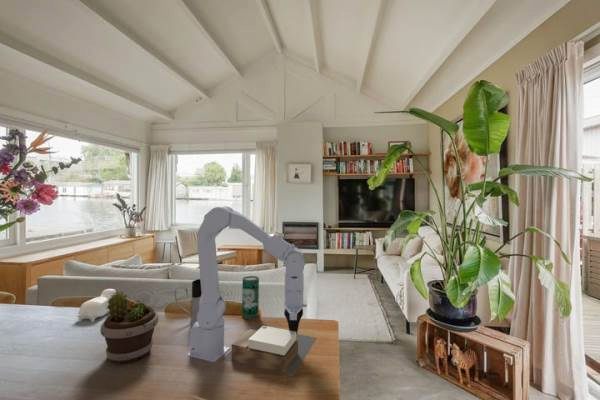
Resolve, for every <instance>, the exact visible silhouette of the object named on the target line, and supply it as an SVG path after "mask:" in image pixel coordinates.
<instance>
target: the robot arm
mask: <svg viewBox="0 0 600 400" xmlns="http://www.w3.org/2000/svg"><path fill="white" fill-rule="evenodd" d="M203 217H204V218H203V220H202V223H201V224H200V226H199V228H198V231H197V233H196V243H197V244H196V245H197V253H198V254H197V255H198V265H199V266H198V268H199V279H200V280H201V292H202V294H201V298H200V302H199V312H198V314H197V322H196V323H195V324H194V325H192V327H191V329H190V333H189V352H188V353H187V356H189V357H192V358H196V359H200V360H203V361H207V362H212V363H215V362H216V361H218V360H219V359H220V358H221V357H222V356H223V355H225V354H227V352H229V350H230V349H231V347H229V346H225V319H224V316H223V314H224V313H225V312H226V309H227V303H226V301H225V299H224V297H223V292H222V290H221V289H220V282H219V279H220V278H219V272H218V271H219V268H218V257H217V245H216V238H217V237H218V235H220V234H221V232H223V230H224V229H226V228H228V229H232V230H233V229H235V230H237V229H239V230H241V231H243V232H244V233H246V234H248V235H250V236H251V237H253V238H254V239H255V240H257V241H258V242H260V243H262V248H263V250H264V251H266V252H267V253H269V254H270V255H271V256H273V257H275V258H276V259H277V260H279V261H280V262H284V266H285V273H284V299H283V301H284V302H283V307H284V310H283V311H284V312H283V315H284V317H285V318H286V322H287V324H288V325H287V326H288V330H290V331H295V332H296V334H298V331H299V325H300V322H301V319H302V317H303V316H304V308H307V307H308V303H307V302H305V301H304V287H305V286H304V284H305V283H304V281H305V280H304V279H305V276H304V275H305V274H304V266H305V264H306V263H305V257H304V253H303V251H302V250H301V249H300V248H299V247H296V245H295V244H293V243H292V244H291V243H289V242H287V240H285V239H283V235H282V234H277V233H270V234H269V233H268V232H266V231H265V230H264V229H262V228H261V227H260V226H258V225H257V224H256V223H254V222H253V221H252V220H250V219H249V218H248V217H247V216H245V215H243V214H242V213H240V212H238V211H236V210H234V209H233V208H232V207H229V206H227V205H226V206H221V207H220V206H216V207H213V208H211V209H210V210H209V211H208V212H207V213H205V214H204V216H203Z"/></svg>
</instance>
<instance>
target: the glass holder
mask: <svg viewBox="0 0 600 400" xmlns="http://www.w3.org/2000/svg"><path fill="white" fill-rule="evenodd" d="M181 287H182V288H183V289H185V292H186V293H185V294H186V297H188V298H190V301H191V303H190V304H191V305H190V311H189V310H187V309H185V308H184V307H183V306H182V305H181V304H180V303H179V301H178V297H177V293H176V292H177V289H179V288H181ZM201 294H202V292H201V280H200V278H199V279H198V278H197V279H195V280H192V281H191V295H189V293H188V288H187V287H186V286H185V285H179V286H177V287H175V290H174V299H175V301H176V304H177V305H178V307H179V308H181V310H183V311H184V312H186V313H187V314H188V315H189V316H190V319H189V324H190V325H191V324H192V325H191V326H193V325H194V324H195V323H196V322H197V314H198V312H199V302H200V298H201Z"/></svg>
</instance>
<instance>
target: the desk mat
mask: <svg viewBox="0 0 600 400" xmlns="http://www.w3.org/2000/svg"><path fill="white" fill-rule="evenodd" d="M261 327H262V326H257V327H256V328H255V329H254V330H257V331H258V330H259V329H260V328H261ZM296 340H298V355H297V356H296V358H295V359H294V361H293V362H292V364H291V365H290V367H289V368H288V370H287V371H286V372H285V373H281V372H277V371H272V370H268V369H264V368H260V367H256V366H252V365H248V364H244V363H240V362H236V361H232V360H231V358H232V349H231V350H230V351H228V353H226V355H224V356H223V357H222V358H221V360H223V361H227V362H232V363H235V364H238V365H242V366H243V365H244V366H247V367H252V368H256V369H258V370H264V371H267V372H270V373H276V374H279V375H284V376H288V377H292V378H293V377H294V376H295V374H296V373H297V372H298V369H299V368H300V366H301V364H302V363H303V362H304V361H305V360H304V359H305V358H306V357H307V355H308V353H309V351H310V350H311V348H312V346H313V345H314V344H315V341H316V340H317V337H314V336H309V335H304V334H299V333H297V334H296Z"/></svg>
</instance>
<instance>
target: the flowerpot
mask: <svg viewBox="0 0 600 400" xmlns="http://www.w3.org/2000/svg"><path fill="white" fill-rule="evenodd" d="M115 290H116V292H114V293H115V294H114V295H112V296H111V298H110V299H109V300H108V301H109V302H108V301H107V302H108V303H109V305H108V306H107V305H106V307H108V309H109V312H108V311H107V312H106V313H105V315H107V317H106V318H105V320H104V321H103V322H102V323H101V325H100V328H99V329H100V331H99V332H100V335H101V336H102V337H104V340H105V343H106V346H107V347H106V348H105V352H106V353H105V354H106V357H107V358H108V359H109V360H110V361H111V362H112V363H115V364H129V363H130V362H135V361H137V360H139V359H141V358H144V357H145V356H146V355H148V353H149V352H150V350H151V349H152V346H153V345H154V337H153V335H154V331H155V327H156V326H157V325H158V322H159V314H158V312H157V311H155V310H154V308H153V307H151V306H148V305H146V303H144V302H142V300H137V301H134V302H133V305H131V304H128V303H129V302H130V298H128V295H129V293H128V294H124V293H125V292H124V291H123V290H120V291H118V290H117V289H115ZM122 291H123V292H122ZM106 307H105V308H106Z"/></svg>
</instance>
